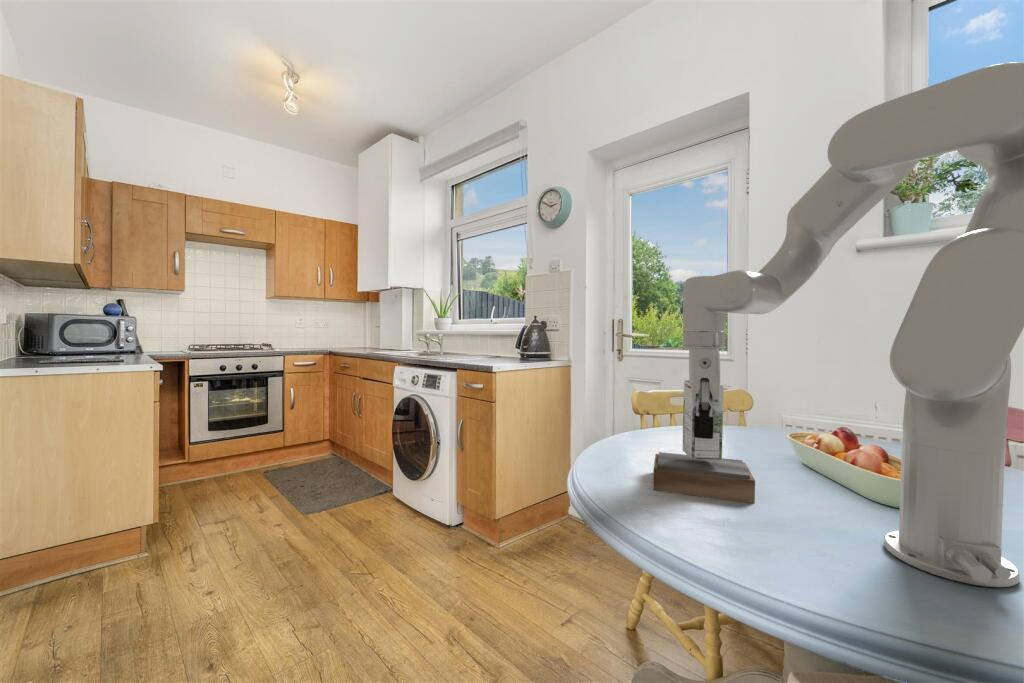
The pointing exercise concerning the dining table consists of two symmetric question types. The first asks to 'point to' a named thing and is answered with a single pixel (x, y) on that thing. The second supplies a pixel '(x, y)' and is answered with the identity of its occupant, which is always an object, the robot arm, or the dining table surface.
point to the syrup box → (691, 444)
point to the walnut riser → (703, 477)
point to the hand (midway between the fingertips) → (702, 432)
